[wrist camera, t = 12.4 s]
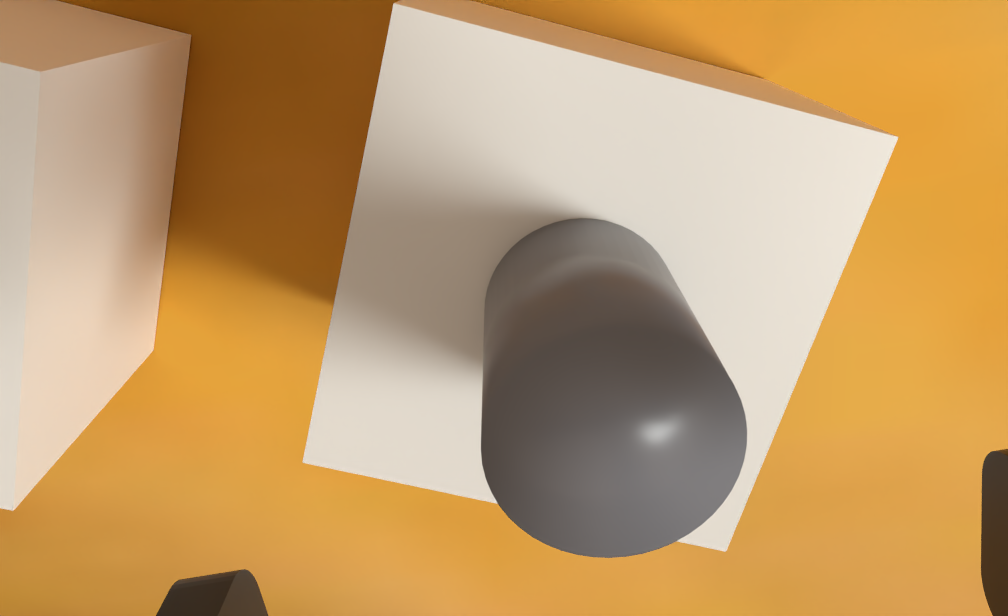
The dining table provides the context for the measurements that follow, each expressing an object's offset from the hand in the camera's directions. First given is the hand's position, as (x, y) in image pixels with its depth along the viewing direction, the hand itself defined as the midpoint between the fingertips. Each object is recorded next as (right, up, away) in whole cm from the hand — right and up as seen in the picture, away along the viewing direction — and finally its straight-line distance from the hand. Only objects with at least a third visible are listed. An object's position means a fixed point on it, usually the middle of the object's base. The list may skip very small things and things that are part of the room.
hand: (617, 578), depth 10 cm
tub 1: (0, +6, +14) cm, 16 cm away
